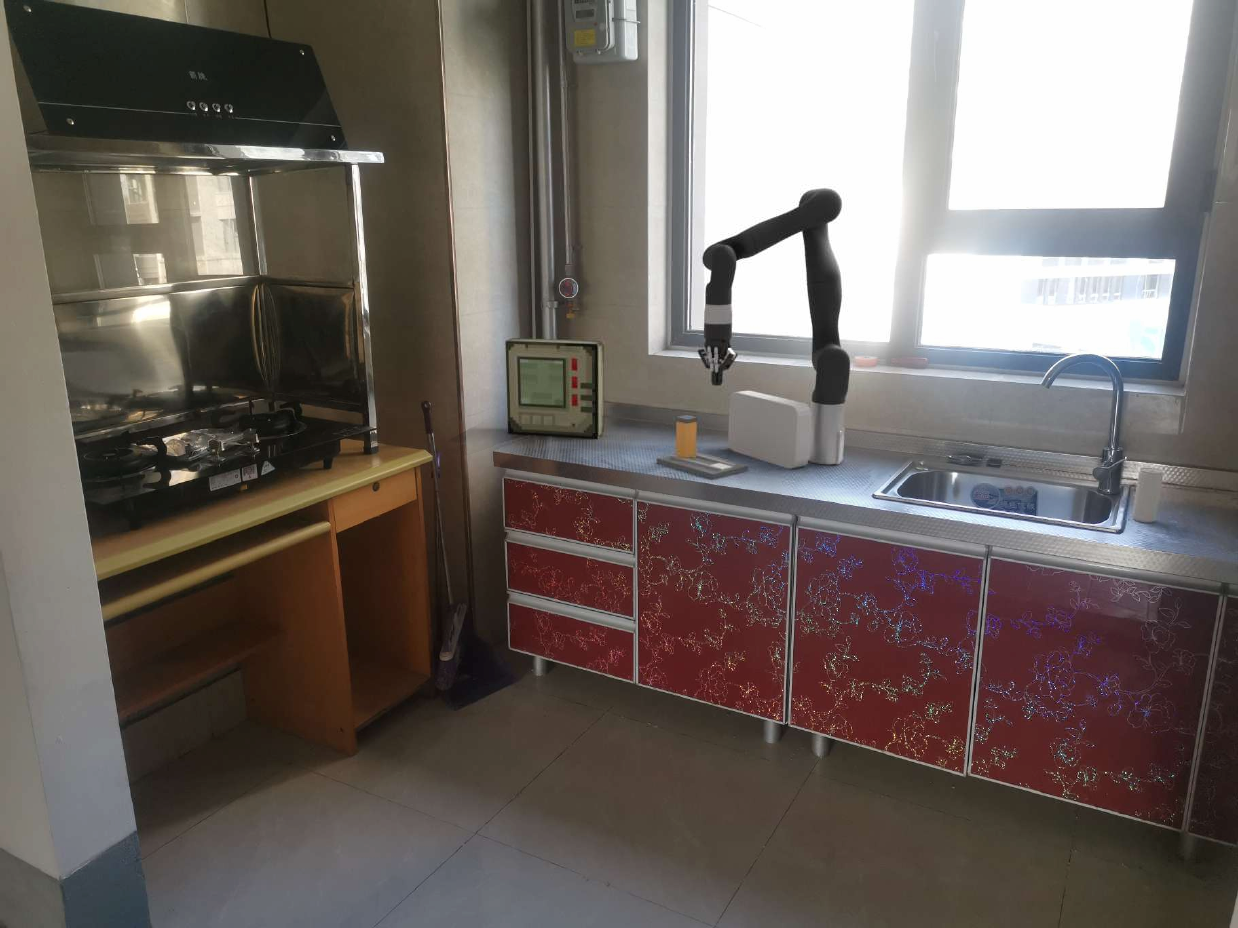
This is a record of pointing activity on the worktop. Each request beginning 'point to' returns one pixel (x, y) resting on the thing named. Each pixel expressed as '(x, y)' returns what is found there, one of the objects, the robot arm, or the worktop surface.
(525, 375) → the control panel
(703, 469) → the plate
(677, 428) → the handle
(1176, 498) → the worktop surface
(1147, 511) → the beverage can
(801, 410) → the rounded white slab
